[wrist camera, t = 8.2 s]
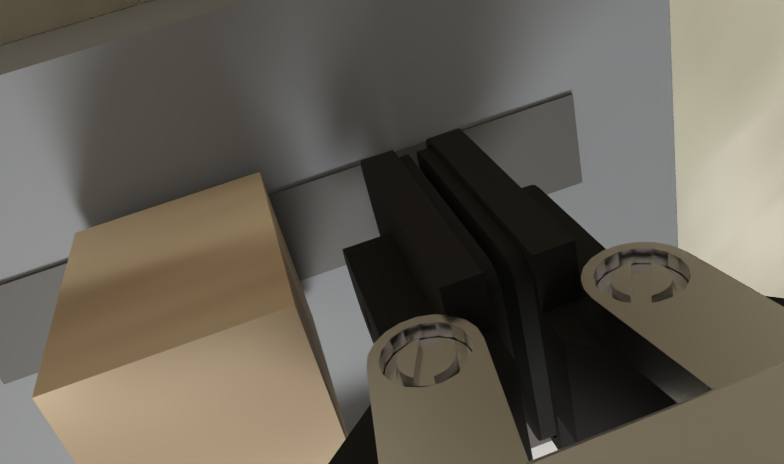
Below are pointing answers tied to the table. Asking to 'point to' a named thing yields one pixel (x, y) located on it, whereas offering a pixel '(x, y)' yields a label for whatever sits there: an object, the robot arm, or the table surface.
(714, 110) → the table surface
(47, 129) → the switch panel
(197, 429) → the slider knob
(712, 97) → the table surface
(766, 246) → the table surface
